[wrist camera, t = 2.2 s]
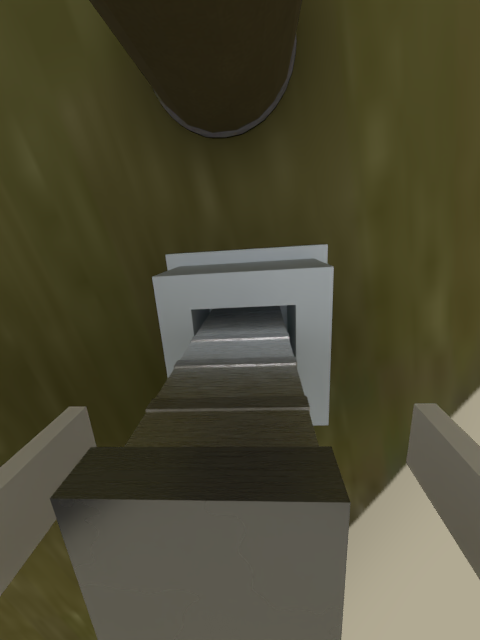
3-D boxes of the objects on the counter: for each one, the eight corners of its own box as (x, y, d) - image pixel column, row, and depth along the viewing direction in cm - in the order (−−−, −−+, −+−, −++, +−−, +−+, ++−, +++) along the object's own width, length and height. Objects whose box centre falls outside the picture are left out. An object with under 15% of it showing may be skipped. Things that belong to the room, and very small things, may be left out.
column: (222, 365, 25) (123, 718, 7) (215, 288, 23) (46, 498, 5) (279, 363, 25) (336, 736, 6) (277, 285, 23) (353, 502, 4)
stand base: (186, 389, 27) (155, 456, 19) (168, 254, 23) (119, 264, 15) (321, 386, 26) (350, 456, 18) (325, 244, 22) (363, 249, 14)
